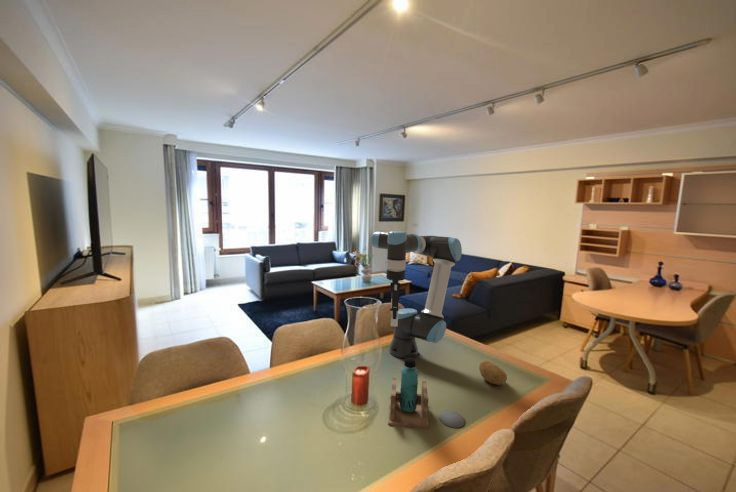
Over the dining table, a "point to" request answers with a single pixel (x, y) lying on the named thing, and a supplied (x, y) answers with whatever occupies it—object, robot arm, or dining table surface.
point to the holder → (409, 418)
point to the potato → (492, 372)
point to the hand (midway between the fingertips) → (393, 319)
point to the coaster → (452, 419)
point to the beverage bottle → (409, 386)
